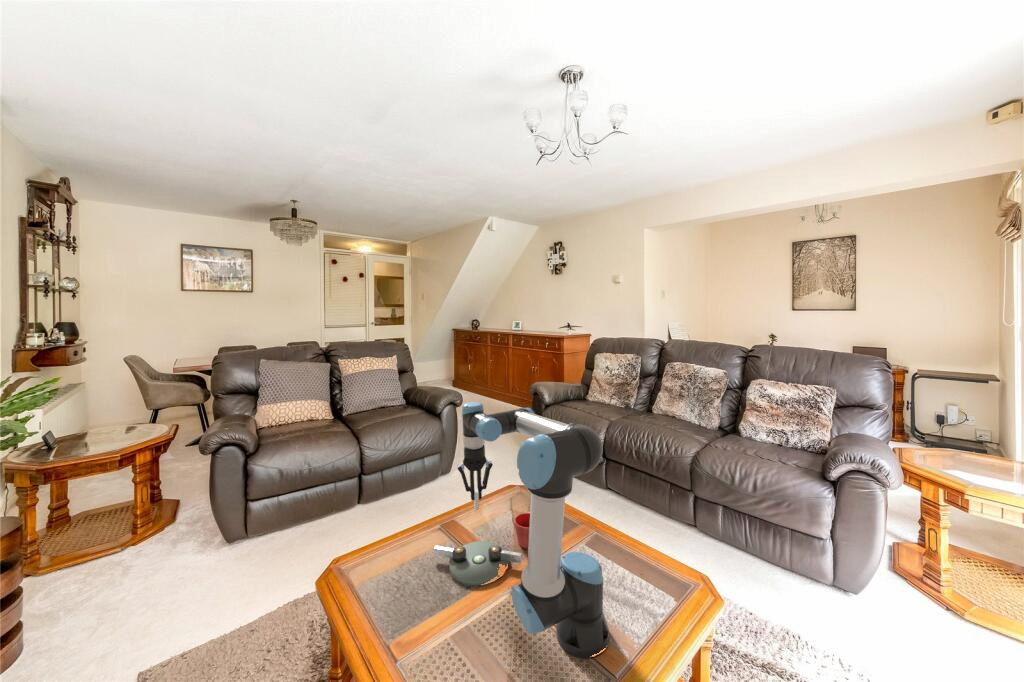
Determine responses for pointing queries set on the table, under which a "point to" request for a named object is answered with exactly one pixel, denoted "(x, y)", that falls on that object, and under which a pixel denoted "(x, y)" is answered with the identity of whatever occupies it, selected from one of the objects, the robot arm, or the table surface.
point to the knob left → (451, 553)
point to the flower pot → (523, 529)
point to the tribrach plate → (476, 564)
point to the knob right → (503, 555)
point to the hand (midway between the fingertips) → (476, 507)
